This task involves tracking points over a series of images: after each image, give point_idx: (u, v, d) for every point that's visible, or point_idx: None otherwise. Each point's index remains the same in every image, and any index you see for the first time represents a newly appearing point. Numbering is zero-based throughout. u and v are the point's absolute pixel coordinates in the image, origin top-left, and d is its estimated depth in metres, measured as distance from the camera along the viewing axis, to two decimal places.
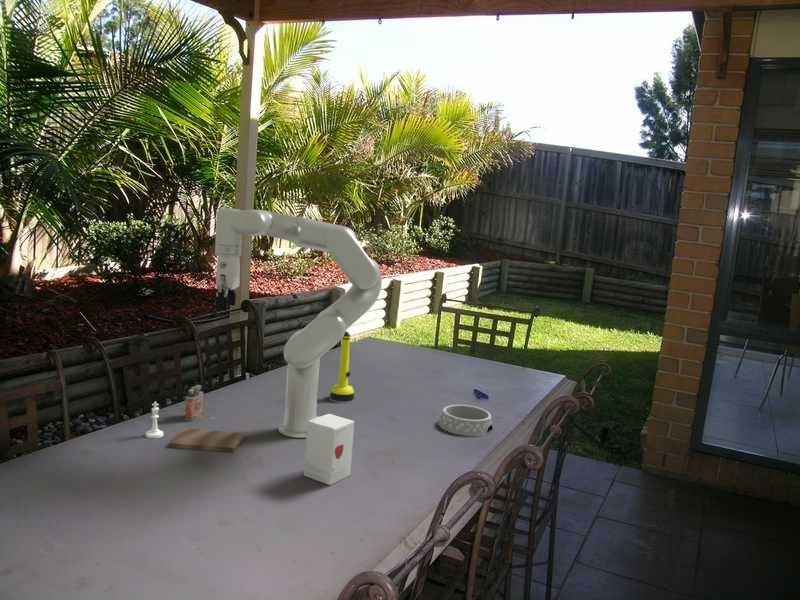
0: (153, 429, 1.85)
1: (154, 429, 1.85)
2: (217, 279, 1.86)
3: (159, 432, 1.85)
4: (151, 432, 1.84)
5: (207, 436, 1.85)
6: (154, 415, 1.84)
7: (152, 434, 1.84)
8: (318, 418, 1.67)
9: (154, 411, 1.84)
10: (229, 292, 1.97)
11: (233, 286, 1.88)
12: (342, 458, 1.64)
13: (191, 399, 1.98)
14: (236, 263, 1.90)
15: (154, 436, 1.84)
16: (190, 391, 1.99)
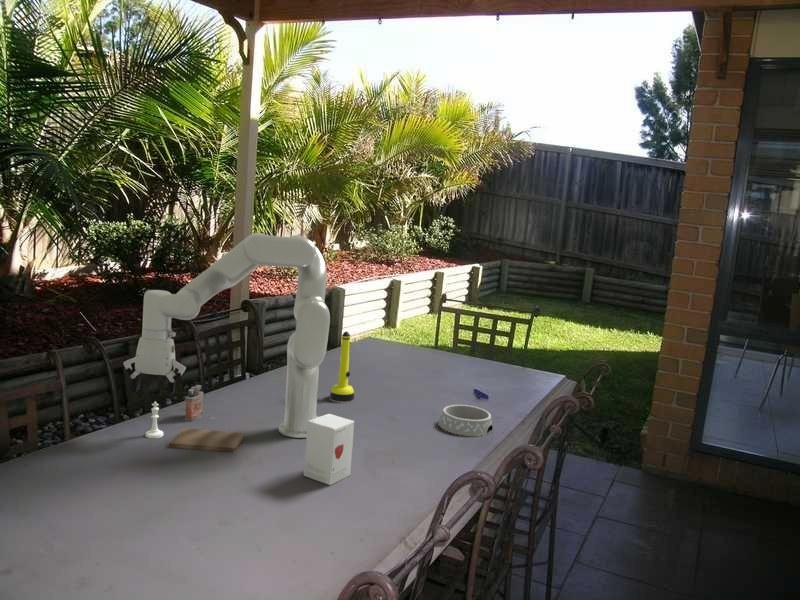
0: (153, 429, 1.85)
1: (154, 429, 1.85)
2: (170, 365, 1.81)
3: (159, 432, 1.85)
4: (151, 432, 1.84)
5: (207, 436, 1.85)
6: (154, 415, 1.84)
7: (152, 434, 1.84)
8: (318, 418, 1.67)
9: (154, 411, 1.84)
10: (137, 378, 1.83)
11: None
12: (342, 458, 1.64)
13: (191, 399, 1.98)
14: None
15: (154, 436, 1.84)
16: (190, 391, 1.99)
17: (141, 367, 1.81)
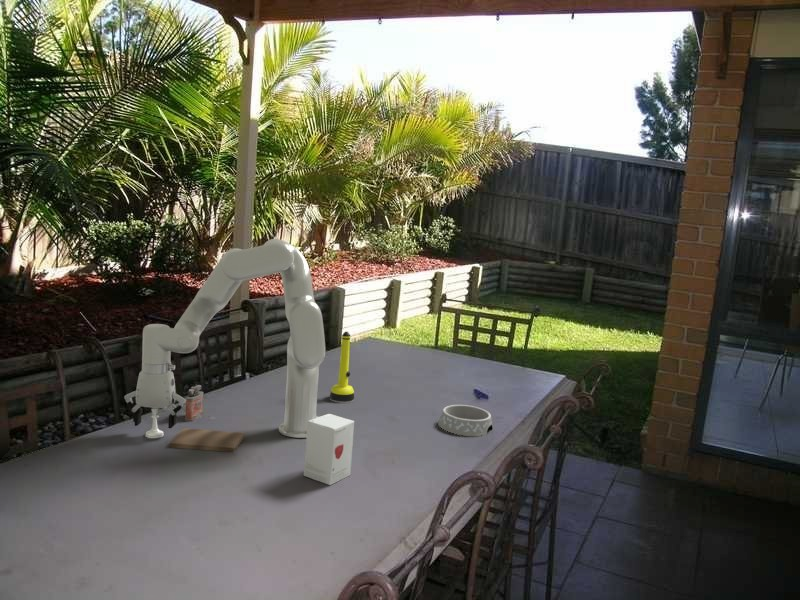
0: (153, 429, 1.85)
1: (154, 429, 1.85)
2: (170, 398, 1.83)
3: (159, 432, 1.85)
4: (151, 432, 1.84)
5: (207, 436, 1.85)
6: (154, 415, 1.84)
7: (152, 434, 1.84)
8: (318, 418, 1.67)
9: (154, 411, 1.84)
10: (138, 411, 1.84)
11: None
12: (342, 458, 1.64)
13: (191, 399, 1.98)
14: None
15: (154, 436, 1.84)
16: (190, 391, 1.99)
17: (142, 401, 1.82)
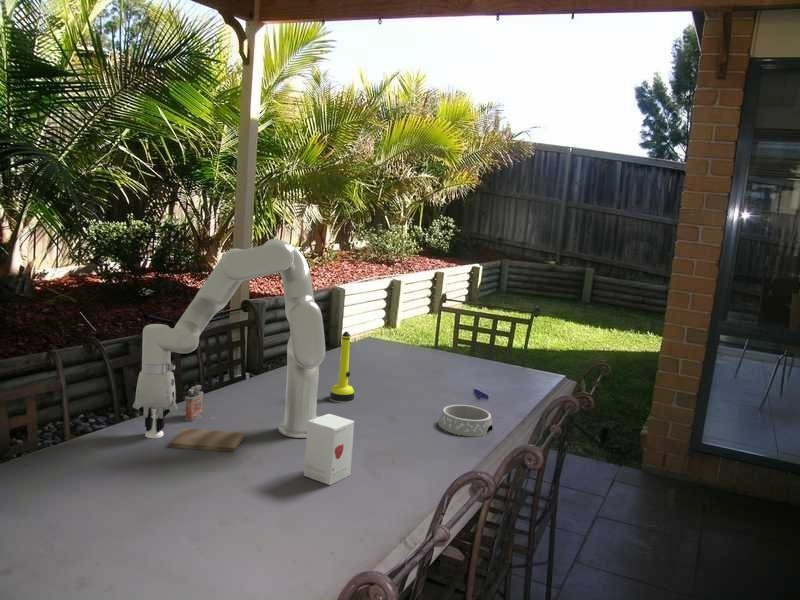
0: (153, 429, 1.85)
1: (154, 429, 1.85)
2: (170, 398, 1.83)
3: (159, 432, 1.85)
4: (151, 432, 1.84)
5: (207, 436, 1.85)
6: (154, 415, 1.84)
7: (152, 433, 1.84)
8: (318, 418, 1.67)
9: (154, 411, 1.84)
10: (150, 416, 1.85)
11: None
12: (342, 458, 1.64)
13: (191, 399, 1.98)
14: None
15: (154, 436, 1.84)
16: (190, 391, 1.99)
17: (142, 401, 1.82)
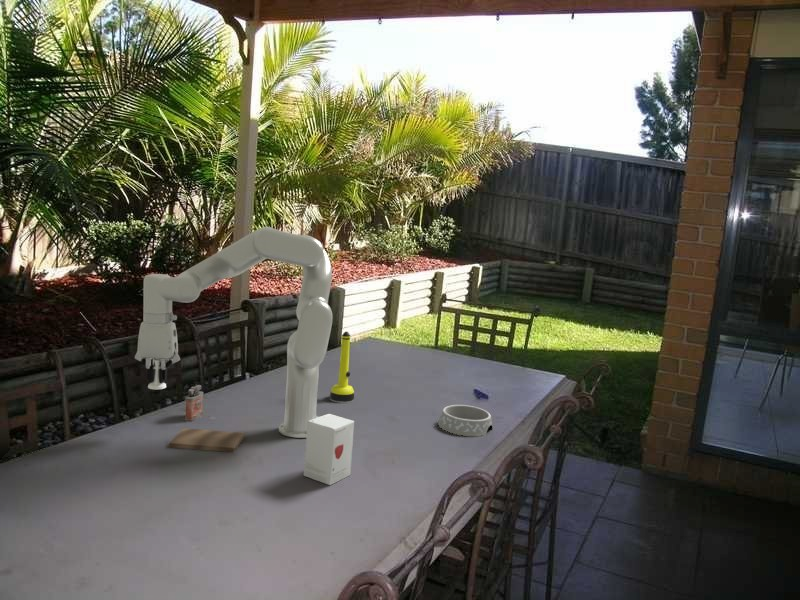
0: (156, 380, 1.83)
1: (157, 380, 1.83)
2: (173, 349, 1.81)
3: (162, 384, 1.83)
4: (154, 384, 1.83)
5: (207, 436, 1.85)
6: (156, 366, 1.82)
7: (154, 385, 1.82)
8: (318, 418, 1.67)
9: (156, 362, 1.82)
10: (152, 368, 1.83)
11: None
12: (342, 458, 1.64)
13: (191, 399, 1.98)
14: None
15: (157, 387, 1.82)
16: (190, 391, 1.99)
17: (144, 352, 1.80)
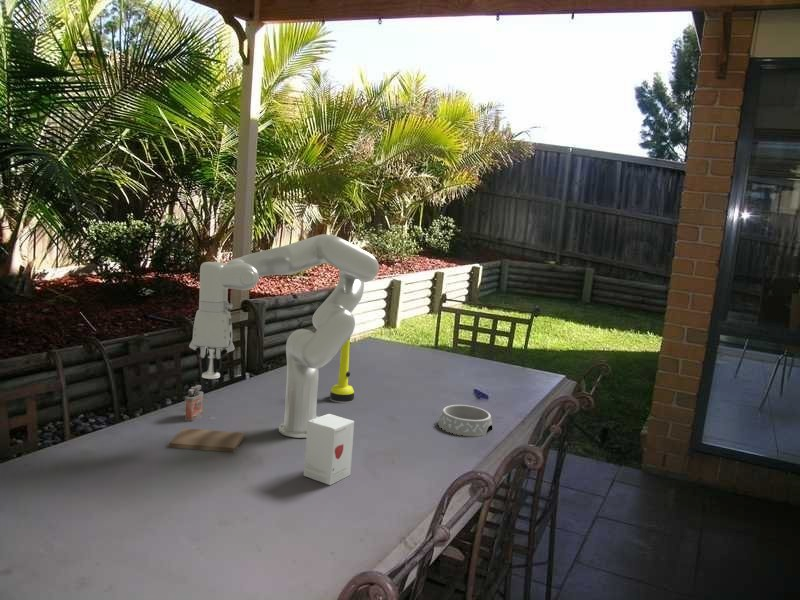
0: (210, 370, 1.80)
1: (211, 370, 1.80)
2: (228, 338, 1.78)
3: (216, 373, 1.81)
4: (208, 373, 1.80)
5: (207, 436, 1.85)
6: (211, 355, 1.80)
7: (209, 374, 1.79)
8: (318, 418, 1.67)
9: (211, 351, 1.79)
10: (206, 357, 1.80)
11: None
12: (342, 458, 1.64)
13: (191, 399, 1.98)
14: None
15: (211, 377, 1.79)
16: (190, 391, 1.99)
17: (199, 340, 1.78)
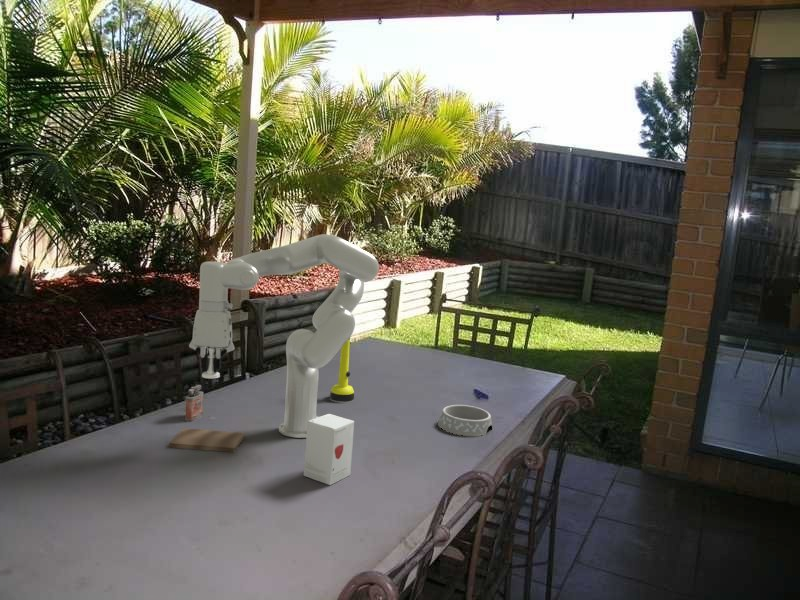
0: (210, 369, 1.80)
1: (211, 369, 1.80)
2: (228, 337, 1.78)
3: (216, 373, 1.81)
4: (208, 372, 1.80)
5: (207, 436, 1.85)
6: (211, 355, 1.80)
7: (209, 374, 1.79)
8: (318, 418, 1.67)
9: (211, 351, 1.79)
10: (206, 357, 1.80)
11: None
12: (342, 458, 1.64)
13: (191, 399, 1.98)
14: None
15: (211, 376, 1.79)
16: (190, 391, 1.99)
17: (199, 340, 1.78)
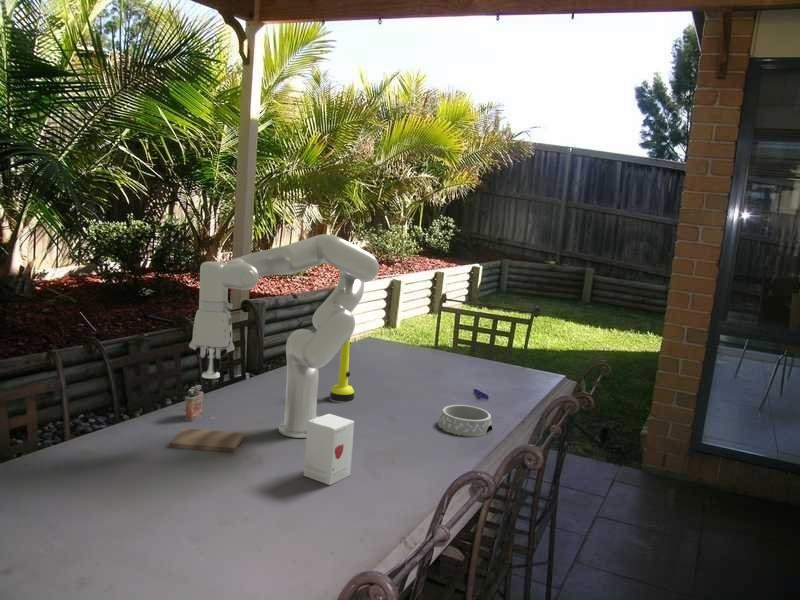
0: (210, 369, 1.80)
1: (211, 369, 1.80)
2: (228, 337, 1.78)
3: (216, 373, 1.81)
4: (208, 372, 1.80)
5: (207, 436, 1.85)
6: (211, 355, 1.80)
7: (209, 374, 1.79)
8: (318, 418, 1.67)
9: (211, 351, 1.79)
10: (206, 357, 1.80)
11: None
12: (342, 458, 1.64)
13: (191, 399, 1.98)
14: None
15: (211, 376, 1.79)
16: (190, 391, 1.99)
17: (199, 340, 1.78)
